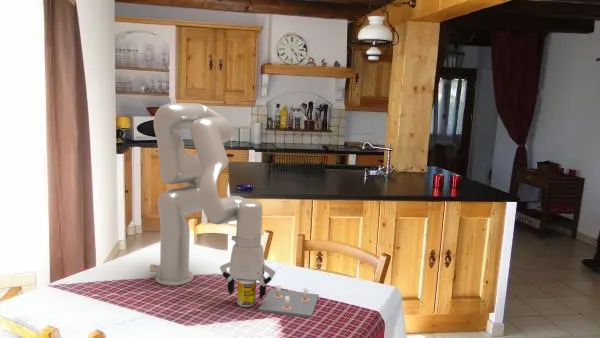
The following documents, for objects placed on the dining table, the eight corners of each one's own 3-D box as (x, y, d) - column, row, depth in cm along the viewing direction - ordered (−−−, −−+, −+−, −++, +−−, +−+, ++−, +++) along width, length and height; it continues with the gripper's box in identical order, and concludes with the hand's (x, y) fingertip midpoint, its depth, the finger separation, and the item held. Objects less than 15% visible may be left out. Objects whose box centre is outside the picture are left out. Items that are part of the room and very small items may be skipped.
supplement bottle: (242, 309, 150) (243, 276, 149) (234, 302, 155) (235, 270, 153) (258, 305, 153) (259, 273, 152) (249, 298, 158) (251, 267, 156)
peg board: (258, 311, 149) (259, 297, 149) (270, 291, 165) (271, 278, 164) (311, 317, 146) (311, 304, 146) (318, 296, 162) (319, 284, 161)
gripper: (217, 242, 149) (215, 296, 151) (273, 247, 146) (270, 303, 148) (225, 235, 156) (223, 287, 159) (279, 240, 153) (276, 293, 156)
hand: (246, 294), depth 153 cm, fingers open, 9 cm apart
